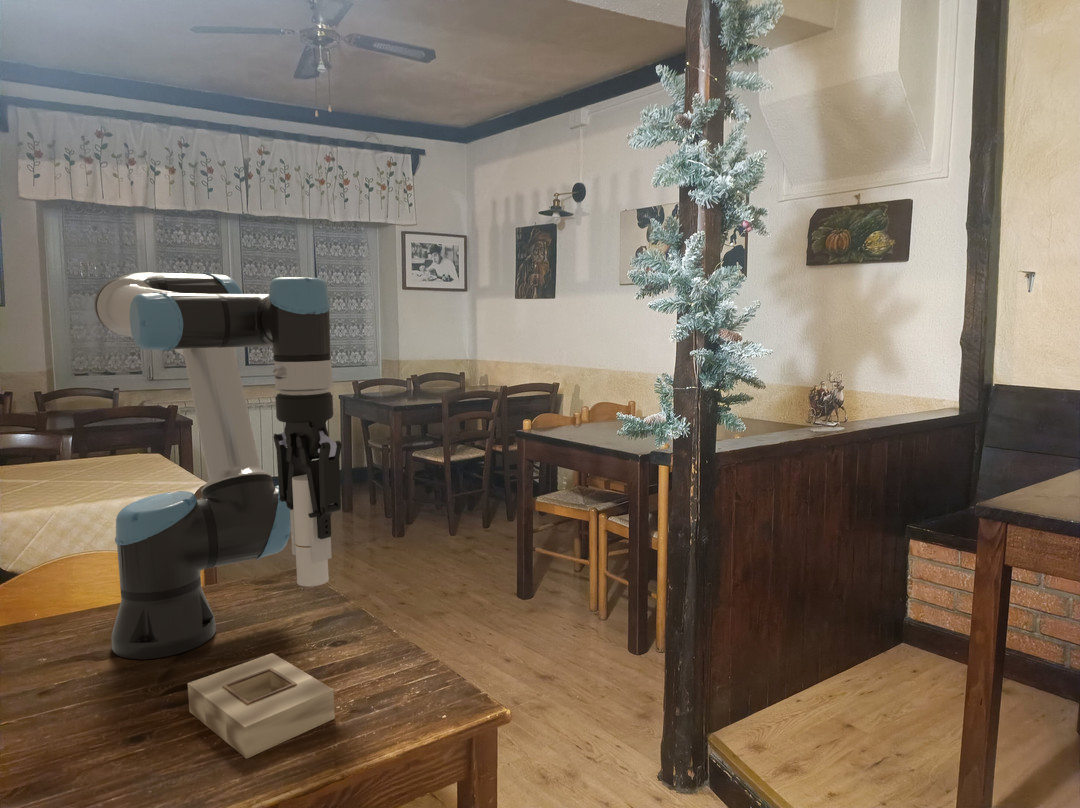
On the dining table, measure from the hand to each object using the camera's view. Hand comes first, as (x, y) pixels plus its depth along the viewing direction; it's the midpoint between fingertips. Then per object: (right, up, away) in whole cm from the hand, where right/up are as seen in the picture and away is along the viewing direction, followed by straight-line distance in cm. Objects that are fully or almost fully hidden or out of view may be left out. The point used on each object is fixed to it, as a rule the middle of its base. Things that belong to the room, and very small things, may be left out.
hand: (311, 555), depth 107 cm
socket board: (-5, -20, -7) cm, 21 cm away
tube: (0, -4, 0) cm, 4 cm away
